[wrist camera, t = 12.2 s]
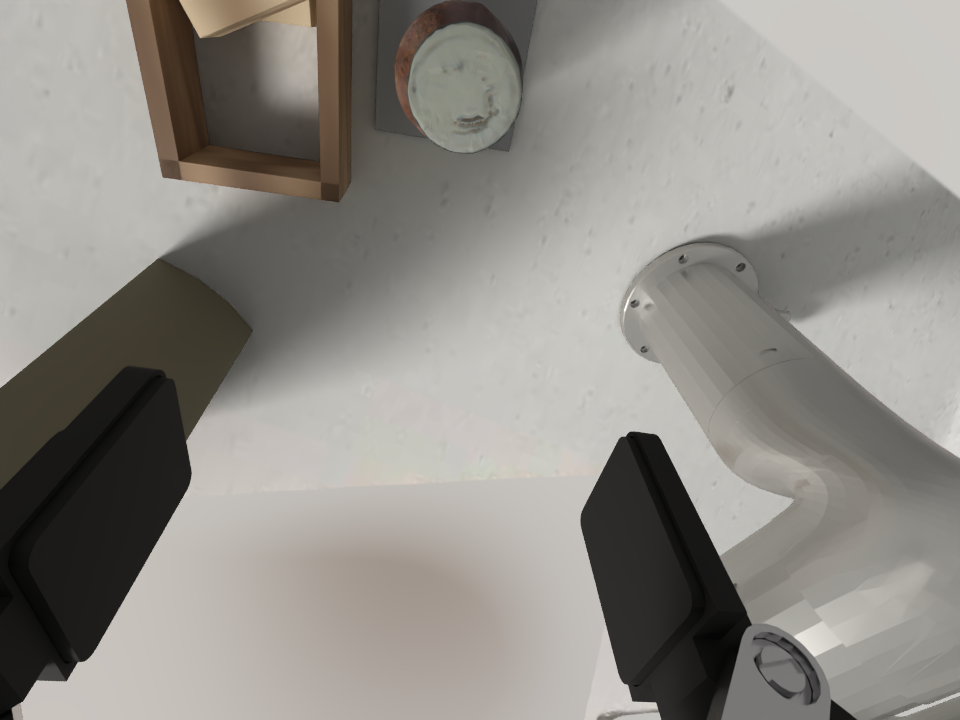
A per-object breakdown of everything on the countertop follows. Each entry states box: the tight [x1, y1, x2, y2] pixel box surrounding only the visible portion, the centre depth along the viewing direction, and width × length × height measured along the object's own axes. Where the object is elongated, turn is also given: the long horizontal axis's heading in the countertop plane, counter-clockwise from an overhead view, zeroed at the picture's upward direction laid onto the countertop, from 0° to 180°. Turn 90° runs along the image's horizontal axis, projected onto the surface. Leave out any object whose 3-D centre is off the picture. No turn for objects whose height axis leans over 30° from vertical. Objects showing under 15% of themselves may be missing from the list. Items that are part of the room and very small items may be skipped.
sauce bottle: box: [394, 0, 523, 154], centre depth 25 cm, size 7×6×20 cm
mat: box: [375, 0, 537, 152], centre depth 33 cm, size 10×10×1 cm
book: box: [0, 259, 253, 490], centre depth 34 cm, size 22×9×28 cm, turn 128°
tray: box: [126, 0, 352, 202], centre depth 30 cm, size 11×15×5 cm
